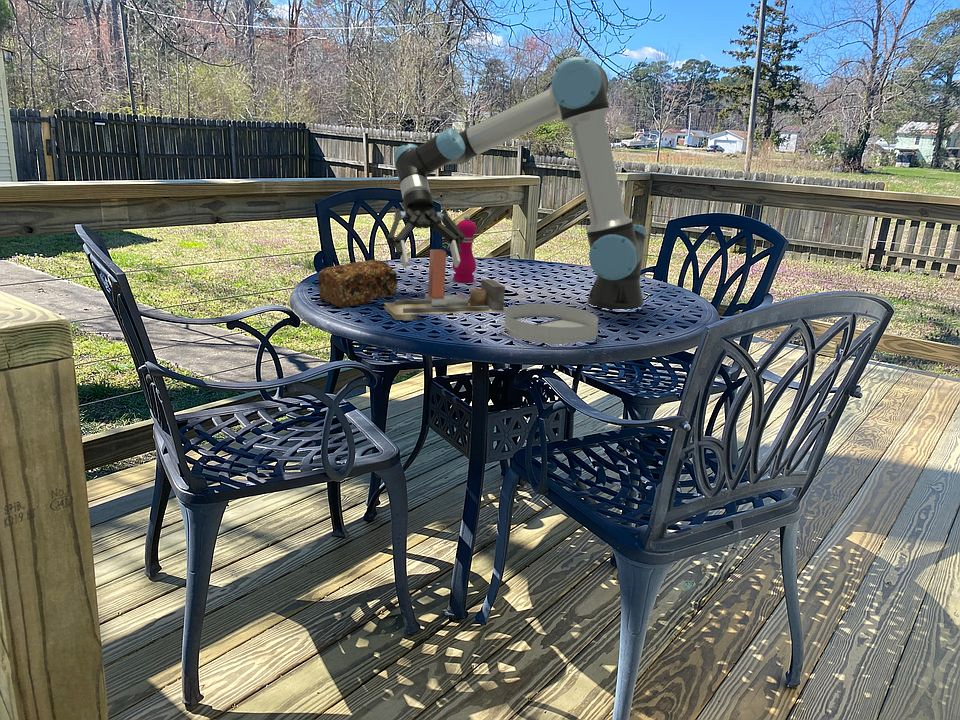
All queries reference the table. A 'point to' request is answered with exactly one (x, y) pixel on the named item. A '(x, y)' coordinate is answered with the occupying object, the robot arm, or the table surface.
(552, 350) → the table surface
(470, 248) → the pepper mill
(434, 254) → the carriage
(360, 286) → the bread
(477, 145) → the robot arm
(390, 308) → the board
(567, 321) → the dish
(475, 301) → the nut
